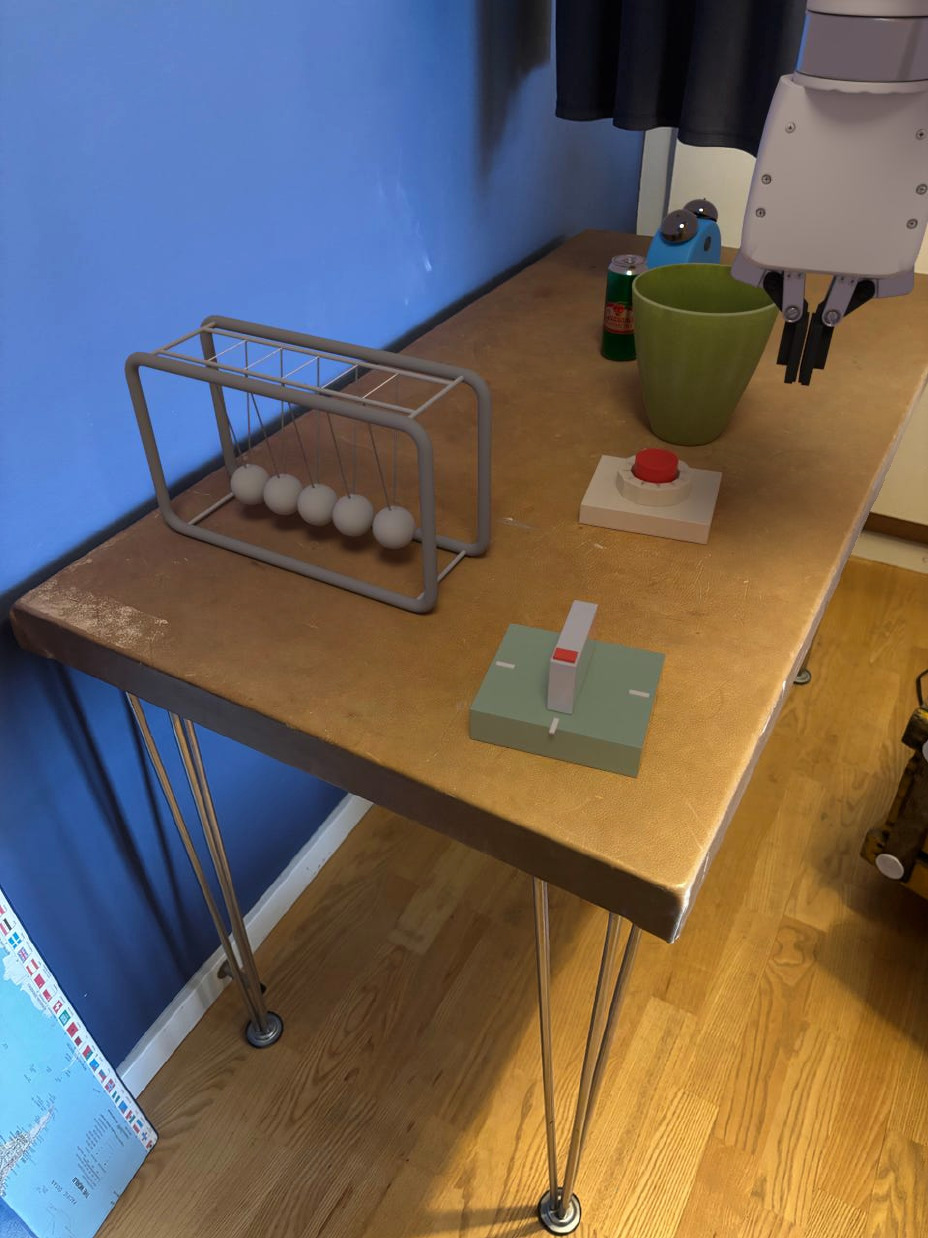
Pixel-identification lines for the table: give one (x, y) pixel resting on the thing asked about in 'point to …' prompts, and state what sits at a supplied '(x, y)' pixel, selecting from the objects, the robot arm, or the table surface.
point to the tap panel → (603, 714)
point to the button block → (651, 501)
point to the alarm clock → (687, 236)
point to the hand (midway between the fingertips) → (797, 375)
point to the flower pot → (697, 346)
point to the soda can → (620, 307)
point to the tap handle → (572, 657)
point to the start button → (656, 466)
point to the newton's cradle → (317, 499)
